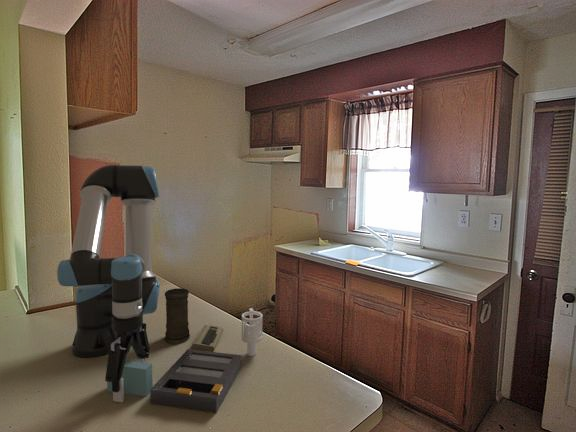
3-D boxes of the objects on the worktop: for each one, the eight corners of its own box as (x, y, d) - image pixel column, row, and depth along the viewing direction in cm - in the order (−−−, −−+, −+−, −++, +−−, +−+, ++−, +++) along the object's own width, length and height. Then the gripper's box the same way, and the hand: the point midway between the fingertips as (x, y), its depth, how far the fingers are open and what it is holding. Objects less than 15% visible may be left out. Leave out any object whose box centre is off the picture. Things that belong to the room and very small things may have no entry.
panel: (107, 391, 98) (106, 364, 97) (114, 384, 101) (113, 358, 100) (146, 396, 96) (146, 369, 95) (152, 390, 99) (152, 363, 98)
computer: (214, 352, 121) (214, 343, 121) (191, 352, 121) (191, 342, 121) (223, 332, 137) (223, 324, 137) (203, 331, 137) (203, 323, 137)
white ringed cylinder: (260, 347, 125) (261, 307, 123) (263, 357, 118) (264, 315, 116) (240, 349, 123) (241, 308, 121) (242, 359, 116) (242, 316, 114)
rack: (150, 403, 93) (150, 387, 93) (187, 360, 115) (187, 347, 114) (216, 413, 90) (216, 396, 90) (241, 367, 112) (242, 353, 111)
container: (176, 346, 124) (175, 297, 122) (159, 339, 129) (158, 292, 127) (195, 336, 132) (194, 290, 130) (178, 330, 136) (178, 286, 134)
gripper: (113, 332, 84) (116, 417, 87) (161, 300, 106) (162, 370, 109) (86, 329, 86) (89, 413, 88) (138, 298, 107) (140, 367, 110)
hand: (130, 389), depth 98 cm, fingers open, 9 cm apart
